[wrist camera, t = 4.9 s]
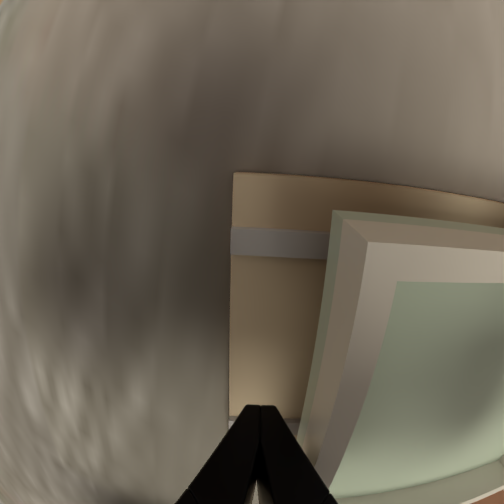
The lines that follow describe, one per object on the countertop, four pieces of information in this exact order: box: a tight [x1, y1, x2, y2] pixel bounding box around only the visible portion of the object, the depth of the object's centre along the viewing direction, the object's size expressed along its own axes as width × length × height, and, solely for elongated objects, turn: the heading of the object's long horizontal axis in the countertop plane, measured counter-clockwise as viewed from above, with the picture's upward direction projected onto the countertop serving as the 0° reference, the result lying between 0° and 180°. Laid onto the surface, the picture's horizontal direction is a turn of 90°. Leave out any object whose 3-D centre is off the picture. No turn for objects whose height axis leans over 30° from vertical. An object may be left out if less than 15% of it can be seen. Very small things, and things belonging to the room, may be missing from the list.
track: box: [229, 172, 504, 439], centre depth 11 cm, size 21×12×1 cm, turn 88°
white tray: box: [296, 210, 504, 504], centre depth 8 cm, size 11×11×5 cm
